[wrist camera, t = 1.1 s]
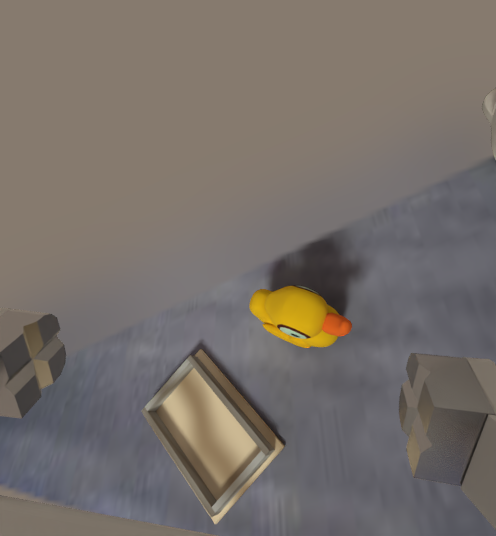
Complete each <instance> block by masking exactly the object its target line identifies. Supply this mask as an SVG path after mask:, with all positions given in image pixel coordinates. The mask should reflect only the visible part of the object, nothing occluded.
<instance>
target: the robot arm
mask: <svg viewBox="0 0 496 536" xmlns="http://www.w3.org/2000/svg"><path fill="white" fill-rule="evenodd" d="M482 110H483V112H484V114H485V116H486V118H487V119H488V121H489V123H490V124H491V131H492V132H491V146H492V151H493V155H494V157H495V159H496V88H495V89H493V90H492V91H491V92H490V93H489V94H488V95H486V97H485V99H484V102H483V104H482ZM59 331H60V326H59V323H58V320H57V317H55V316H54V315H52V314H48V313H41V312H33V311H25V310H18V309H9V308H0V416H6V417H14V418H23V417H24V416H25V414H26V413H27V412H28V411H29V410H30V409H31V408H32V407H33V405H34V404H35V403H36V402H37V401H38V400H39V399H40V398H41V389H42V388H44V387H46V386H48V385H50V384H52V383H54V382H55V381H56V379H57V378H58V377H59V376H60V375H61V373H62V370H63V368H64V365H65V361H66V351H65V347H64V344H63V343H62V342H61V341H60V340H59V339H58V337H57V334H58V333H59ZM406 370H407V374H408V377H409V380H408V381H406V382H405V383H404V384H402V387H401V392H400V398H399V415H400V422H401V427H402V430H403V431H404V432H405V433H406V434H407V435H408V436H409V440H408V444H407V448H406V449H407V453H408V457H409V461H410V465H411V469H412V473H413V477H414V478H418V479H423V480H429V481H434V482H440V483H446V484H451V485H457V486H461V490H462V491H463V492H464V493H465V494H466V495H467V497H468V498H469V499H470V500H471V501H472V502H473V504H474V505H475V506H476V507H477V508H478V510H479V511H480V512H481V513H482V514H483V515H484V517H485V518H486V519H487V520H488V521H489V523H490V524H491V525H492V526H493V527H494V528H495V530H496V365H495V363H494V362H492V361H491V360H489V359H479V358H466V357H462V358H458V357H448V356H438V355H428V354H417V353H411V354H410V356H409V358H408V362H407V366H406ZM0 536H217V535H212V534H206V533H201V532H195V531H190V530H184V529H179V528H174V527H168V526H163V525H158V524H152V523H147V522H141V521H136V520H131V519H125V518H120V517H115V516H109V515H104V514H98V513H93V512H88V511H82V510H77V509H72V508H66V507H61V506H55V505H50V504H45V503H39V502H34V501H28V500H23V499H17V498H12V497H7V496H2V495H0Z"/></svg>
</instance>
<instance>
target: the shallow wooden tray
mask: <svg viewBox="0 0 496 536" xmlns="http://www.w3.org/2000/svg"><path fill="white" fill-rule="evenodd" d="M142 413H143V415H144V416H145V418H146V419H147V421H148V422H149V424H150V426H151V427H152V429H153V430H154V432H155V433H156V435H157V436H158V438H159V439H160V441H161V442H162V444H163V445H164V447H165V448H166V450H167V451H168V453H169V455H170V456H171V458H172V459H173V461H174V462H175V464H176V465H177V467H178V468H179V470H180V471H181V473H182V474H183V476H184V477H185V479H186V480H187V482H188V483H189V485H190V487H191V488H192V490H193V491H194V493H195V494H196V496H197V497H198V499H199V500H200V502H201V503H202V505H203V506H204V508H205V509H206V511H207V512H208V514H209V516H210V517H211V519H212V520H213V522H214V523H215V524H217V523H218V522H219V521H220V520H221V518H222V517H223V516H224V515H225V514H226V513H227V512H228V510H229V509H230V508H231V507H232V506H233V505H234V504H235V503H236V501H237V500H238V499H239V498H240V497H241V496H242V495H243V493H244V492H245V491H246V490H247V489H248V488H249V487H250V485H251V484H252V483H253V482H254V481H255V480H256V479H257V478H258V476H259V475H260V474H261V473H262V472H263V471H264V470H265V468H266V467H267V466H268V465H269V464H270V463H271V462H272V460H273V459H274V458H275V457H276V456H277V455H278V454H279V453H280V451H281V450H282V449H283V448H284V447H285V445H284V444H283V443H282V442H281V441H280V440H279V438H278V437H277V436H276V435H275V434H274V433H273V431H272V430H271V429H270V428H269V427H268V426H267V424H266V423H265V422H264V421H263V420H262V419H261V417H260V416H259V415H258V414H257V413H256V412H255V410H254V409H253V408H252V407H251V406H250V405H249V403H248V402H247V401H246V400H245V399H244V398H243V396H242V395H241V394H240V393H239V392H238V391H237V389H236V388H235V387H234V386H233V385H232V384H231V382H230V381H229V380H228V379H227V378H226V377H225V375H224V374H223V373H222V372H221V371H220V370H219V368H218V367H217V366H216V365H215V364H214V363H213V361H212V360H211V359H210V358H209V357H208V356H207V354H206V353H205V352H204V351H203V350H202V349H200V350H199V351H198V352H197V353H196V355H195V356H193V355H190V356H189V357H188V358H187V359H186V360H185V362H184V363H183V364H182V365H181V366H180V367H179V368H178V370H177V371H176V372H175V373H174V374H173V375H172V376H171V378H170V379H169V380H168V381H167V382H166V383H165V384H164V386H163V387H162V388H161V389H160V390H159V391H158V392H157V394H156V395H155V396H154V397H153V398H152V399H151V400H150V402H149V403H148V404H147V405H146V406H145V407H144V409H143V410H142Z"/></svg>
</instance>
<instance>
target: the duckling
mask: <svg viewBox="0 0 496 536" xmlns="http://www.w3.org/2000/svg"><path fill="white" fill-rule="evenodd" d="M250 310H251V312H252V313H253V314H254V315H255V316H256V317H258V318H259V319H260V320H261V321H262V322H263V323H265V324H263V327H264V328H265V329H266V330H267V331H268V332H270V333H272V334H273V335H275V336H277V337H279V338H281V339H283V340H285V341H288V342H290V343H292V344H294V345H297V346H300V347H303V348H309V347H311V346H314V347H326V346H329V345H331V344H333V343H334V342H335V341H336V340H337V338H338V336H344V335H346V334H348V333H349V332H350V331H351V328H352V324H351V322H350V321H349V320H348V319H347V318H345V317H343V316H341V315H339V314H338V312H337V311H336V310H335V309H334V308H332V307H331V306H329V305H327V304H326V302H325V300H324V299H323V298H322V296H320V295H319V294H318V293H317V292H315V291H313V290H311V289H309V288H306V287H302V286H287V287H284V288H281V289H279V290H276V291H273V292H272V291H269V290H266V289H260V290H257V291H256V292H255V293H254V294H253V296H252V298H251V301H250Z"/></svg>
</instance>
